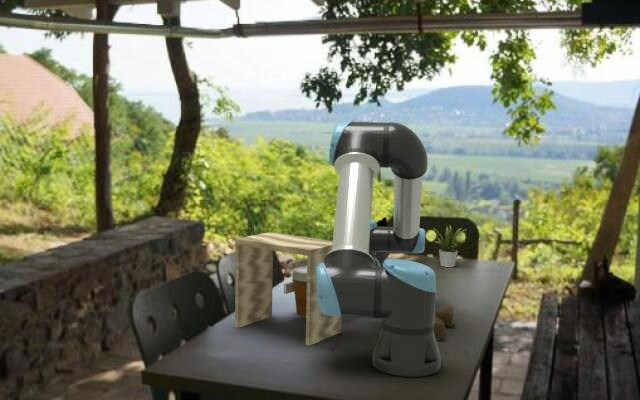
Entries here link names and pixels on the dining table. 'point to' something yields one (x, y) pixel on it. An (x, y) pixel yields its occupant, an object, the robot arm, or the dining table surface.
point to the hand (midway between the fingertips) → (298, 291)
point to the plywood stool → (258, 277)
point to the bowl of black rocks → (382, 255)
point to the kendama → (442, 321)
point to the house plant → (448, 248)
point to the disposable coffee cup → (300, 289)
